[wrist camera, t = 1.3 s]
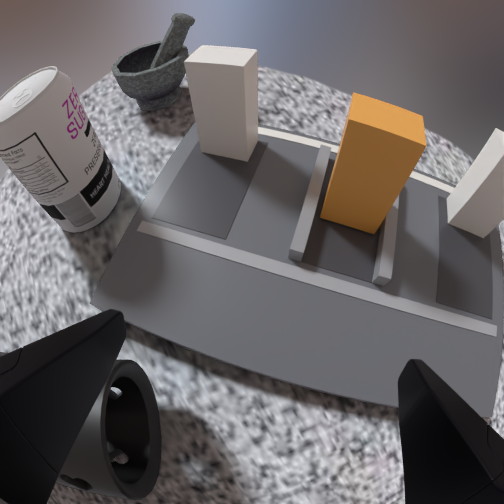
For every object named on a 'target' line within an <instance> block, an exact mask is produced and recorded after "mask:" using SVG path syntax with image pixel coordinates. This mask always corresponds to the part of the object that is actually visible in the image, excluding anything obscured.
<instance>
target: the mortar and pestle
mask: <svg viewBox="0 0 504 504" xmlns="http://www.w3.org/2000/svg"><path fill="white" fill-rule="evenodd" d="M194 22H195V19H194V18H192V17H191V16H189V15H187V14H182V13H176V14H174V15H173V16H172V23H171V25H170V27H169V29H168V31H167V33H166V35H165V37H164V39H163V41H159V42H155V43H151V44H147V45H143V46H140V47H138V48H136V49H134V50H132V51H130V52H128V53H126V54H125V55H123V56H121V57H120V58H119V59H118V60H117V61H116V63H115V64H114V65H113V66H112V68H111V69H112V72H113V74H114V77H115V79H116V80H117V82H118V84H119V86H120V87H121V89H122V91H123V92H124V93H125V94H126V95H128V96H129V97H130V98H134V99H136V100H137V104H138V105H139V107H140V108H141V110H149V111H154V110H158V109H162V108H166V107H168V106H169V105H171V104H172V103H174V102H176V101H177V100H178V99H179V96H180V94H181V89H180V87H179V85H180V84H181V81H182V79H183V77H184V75H185V73H186V70H185V65H184V61H185V60H186V59H187V58H188V57H189V55H188V49H187V47H186V46H184V45H183V43H184V40H185V38H186V35H187V33H188V30H189V28H190V26H192V25H193V24H194Z"/></svg>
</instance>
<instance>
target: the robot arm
mask: <svg viewBox="0 0 504 504" xmlns="http://www.w3.org/2000/svg"><path fill="white" fill-rule="evenodd" d="M125 338H126V327H125V321H124V315H123V313H122V312H121V311H118V310H115V309H109V310H106V311H104V312H102V313H99V314H97V315H95V316H92V317H90V318H88V319H86V320H83V321H81V322H79V323H76V324H74V325H72V326H70V327H67V328H65V329H63V330H60V331H58V332H56V333H54V334H51V335H49V336H47V337H44V338H42V339H40V340H38V341H35V342H33V343H31V344H28V345H26V346H24V347H23V348H19V349H17V350H15V351H12V352H10V353H8V354H5V355H3V356H0V504H46V503H47V501H48V499H49V497H50V494H51V492H52V490H53V487H54V485H55V483H56V481H57V479H58V476H59V474H60V472H61V470H62V467H63V465H64V463H65V461H66V459H67V457H68V455H69V453H70V451H71V449H72V447H73V445H74V443H75V441H76V439H77V437H78V435H79V433H80V431H81V429H82V427H83V425H84V423H85V421H86V419H87V417H88V415H89V413H90V411H91V409H92V407H93V405H94V404H95V402H96V400H97V398H98V396H99V394H100V392H101V391H102V389H103V387H104V385H105V383H106V381H107V379H108V378H109V376H110V373H111V371H112V369H113V366H114V364H115V362H116V359H117V357H118V354H119V352H120V350H121V347H122V345H123V343H124V340H125ZM398 405H399V428H400V437H401V446H402V457H403V469H404V485H405V504H504V439H503V438H502V437H501V436H500V435H499V434H498V433H497V432H496V431H495V430H494V429H493V428H492V427H491V426H490V425H487V422H486V421H485V420H484V419H483V418H482V417H481V416H480V415H479V414H478V413H477V412H476V411H475V410H474V409H473V408H472V407H471V406H470V405H469V404H468V403H467V402H466V401H465V400H463V399H462V398H461V397H460V396H459V395H458V394H457V393H456V392H455V391H454V390H453V389H452V388H451V387H450V386H449V385H448V384H447V383H446V382H445V381H444V380H443V379H442V378H441V377H440V376H439V375H437V374H436V373H435V372H434V371H433V370H432V369H431V368H430V367H429V366H428V365H427V364H426V363H425V362H424V361H423V360H421V359H410V360H409V361H408V362H407V363H406V365H405V367H404V369H403V371H402V372H401V374H400V376H399V378H398Z"/></svg>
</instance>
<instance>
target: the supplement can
mask: <svg viewBox="0 0 504 504" xmlns="http://www.w3.org/2000/svg"><path fill="white" fill-rule="evenodd" d="M0 157H1V158H2V160H3V161H4V162H5V163H6V165H7V166H8V167H9V169H10V170H11V171H12V172H13V174H14V175H15V176H16V177H17V178H18V180H19V181H20V182H21V183H22V184H23V186H24V187H25V188H26V189H27V190H28V191H29V193H30V194H31V195H32V196H33V197H34V198H35V200H36V201H37V202H38V203H39V204H40V205H41V206H42V207H43V208H44V210H45V211H46V212H47V213H48V214H49V215H50V216H51V217H52V218H53V219H54V220H55V221H56V223H57V224H58V225H59V226H60V227H61V228H62V229H63V230H65V231H69V232H72V233H75V232H82V231H86V230H88V229H90V228H92V227H94V226H96V225H98V224H99V223H101V222H102V221H103V220H104V219H105V218H106V217H108V215H109V214H110V212H111V211H112V210H113V208H114V207H115V205H116V204H117V201H118V198H119V195H120V193H121V181H120V179H119V177H118V175H117V173H116V172H115V170H114V168H113V166H112V164H111V162H110V160H109V158H108V157H107V155H106V153H105V151H104V149H103V147H102V145H101V143H100V141H99V139H98V137H97V135H96V133H95V131H94V129H93V127H92V125H91V123H90V121H89V119H88V117H87V115H86V113H85V111H84V108H83V106H82V104H81V102H80V100H79V98H78V96H77V93H76V91H75V89H74V87H73V84H72V82H71V80H70V78H69V77H68V76H67V75H65V74H64V73H62V72H60V71H58V70H57V68H56V67H54V66H50V67H45V68H42V69H39V70H37V71H35V72H33V73H31V74H29V75H28V76H26V77H25V78H23V79H21V80H20V81H18V82H17V83H16V84H15V85H13V86H12V87H11V88H10V89H9V90H7V91H6V92H5V93H4V94H3V95H2V96H1V97H0Z"/></svg>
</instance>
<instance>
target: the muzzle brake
mask: <svg viewBox="0 0 504 504" xmlns="http://www.w3.org/2000/svg"><path fill="white" fill-rule="evenodd" d="M5 354H8V353H4V352H0V356H3V355H5ZM111 387H116V388H118V389H120V390H121V391H122V392H121V393H120V394H119V395H117V394H116V393H115V392H114V391H112V390H111ZM122 453H124V454H125V455H126V456H127V457H128V462H127V463H125V464H119V463H117V462H116V461H115V462H111V460H112V459H114V458H115V457H117V456H119V455H120V454H122ZM160 462H161V430H160V421H159V412H158V407H157V402H156V398H155V394H154V391H153V388H152V385H151V383H150V381H149V379H148V376H147V375H146V373H145V372H144V370H143V369H142V368H141V367H140V366H139V365H138V364H137V363H136V362H134V361H132V360H116V362H115V364H114V366H113V369H112V371H111V373H110V376H109V378H108V379H107V381H106V383H105V385H104V387H103V389H102V391H101V392H100V394H99V396H98V398H97V400H96V402H95V404H94V405H93V407H92V409H91V411H90V413H89V415H88V417H87V419H86V421H85V423H84V425H83V427H82V429H81V431H80V433H79V435H78V437H77V439H76V441H75V443H74V445H73V447H72V449H71V451H70V453H69V455H68V457H67V459H66V461H65V463H64V465H63V467H62V470H61V472H60V474H59V476H58V479H57V481H56V483H57V484H61V485H64V486H68V487H71V488H75V489H79V490H83V491H87V492H91V493H96V494H100V495H105V496H110V497H116V498H122V499H128V500H142V499H143V498H145V497H146V496H147V495H148V494H149V493H150V492H151V491H152V489H153V487H154V485H155V483H156V480H157V477H158V473H159V469H160Z"/></svg>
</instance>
